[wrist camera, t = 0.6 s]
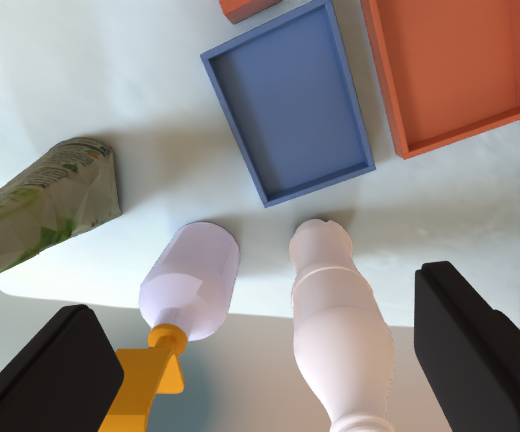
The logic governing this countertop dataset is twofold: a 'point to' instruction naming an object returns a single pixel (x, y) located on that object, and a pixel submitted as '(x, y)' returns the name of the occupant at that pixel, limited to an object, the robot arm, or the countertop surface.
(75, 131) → the countertop surface
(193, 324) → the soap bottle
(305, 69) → the blue tray
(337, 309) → the water bottle
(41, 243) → the pouch
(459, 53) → the terracotta tray
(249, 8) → the block
